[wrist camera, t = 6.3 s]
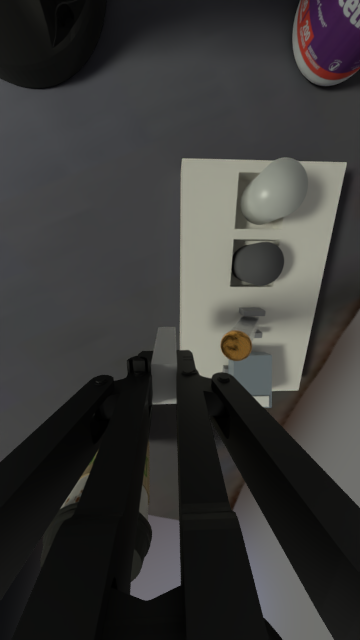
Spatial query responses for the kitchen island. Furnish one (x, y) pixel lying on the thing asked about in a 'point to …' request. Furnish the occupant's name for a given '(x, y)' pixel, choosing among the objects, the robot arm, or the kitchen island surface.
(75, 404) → the robot arm
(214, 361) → the panel
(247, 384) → the slate blue block
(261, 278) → the button black
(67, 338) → the kitchen island surface
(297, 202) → the button grey
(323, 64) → the pill bottle
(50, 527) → the coffee cup
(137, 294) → the kitchen island surface
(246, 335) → the lever
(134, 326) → the kitchen island surface
